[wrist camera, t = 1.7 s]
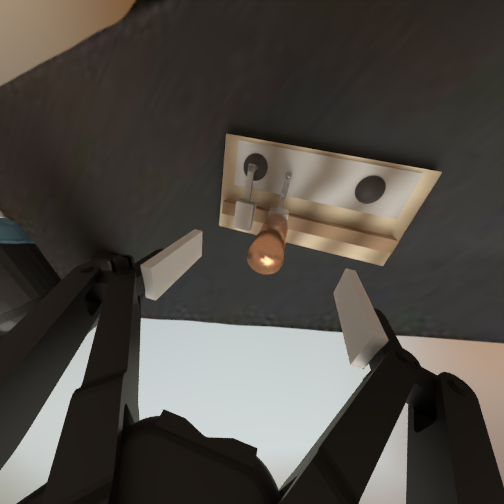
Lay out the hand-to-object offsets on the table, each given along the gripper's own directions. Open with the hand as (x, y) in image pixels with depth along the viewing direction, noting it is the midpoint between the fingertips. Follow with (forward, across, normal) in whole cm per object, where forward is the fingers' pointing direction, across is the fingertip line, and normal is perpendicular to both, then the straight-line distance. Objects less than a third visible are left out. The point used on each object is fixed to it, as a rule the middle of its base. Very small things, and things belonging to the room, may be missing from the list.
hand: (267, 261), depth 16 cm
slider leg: (+14, 0, +2) cm, 14 cm away
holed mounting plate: (+16, +4, +3) cm, 16 cm away
